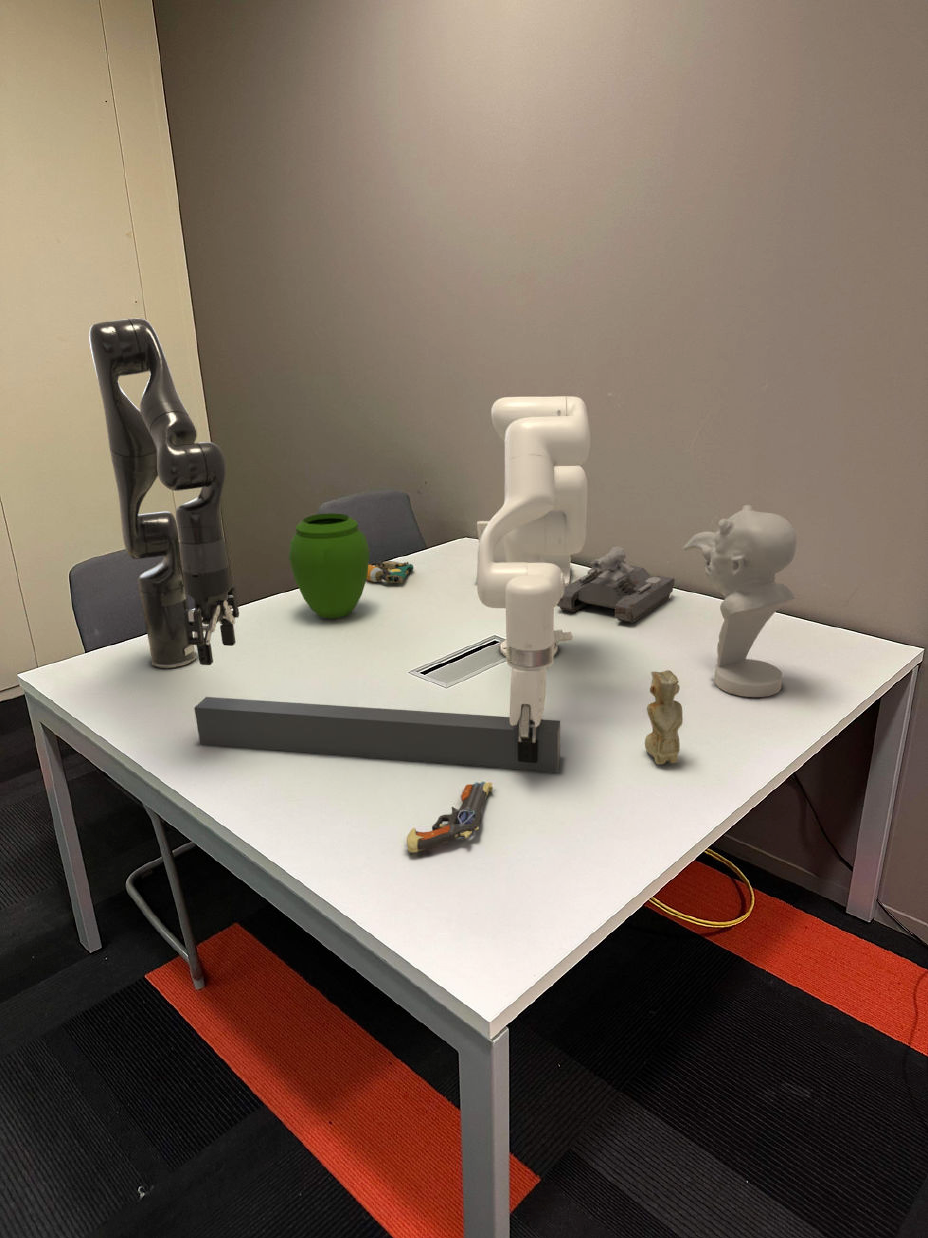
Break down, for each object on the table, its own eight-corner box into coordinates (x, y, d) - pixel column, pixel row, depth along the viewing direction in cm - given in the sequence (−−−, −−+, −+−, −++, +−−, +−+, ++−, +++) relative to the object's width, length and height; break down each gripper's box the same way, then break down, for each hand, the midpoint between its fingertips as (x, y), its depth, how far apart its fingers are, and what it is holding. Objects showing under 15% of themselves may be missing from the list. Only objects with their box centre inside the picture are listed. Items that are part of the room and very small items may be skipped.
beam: (559, 759, 144) (560, 720, 142) (557, 772, 140) (557, 732, 138) (211, 732, 157) (206, 696, 154) (199, 744, 153) (194, 707, 150)
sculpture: (673, 746, 147) (678, 666, 142) (685, 767, 140) (691, 684, 135) (639, 747, 147) (643, 667, 141) (650, 769, 140) (654, 686, 135)
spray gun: (382, 568, 251) (427, 575, 245) (352, 581, 237) (399, 589, 231) (382, 554, 250) (427, 560, 244) (351, 566, 235) (399, 574, 230)
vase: (389, 608, 216) (383, 514, 208) (339, 633, 201) (330, 533, 192) (330, 596, 226) (322, 506, 218) (278, 619, 211) (267, 523, 202)
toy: (603, 584, 229) (605, 530, 224) (673, 597, 218) (677, 540, 213) (555, 612, 210) (556, 553, 205) (630, 627, 199) (633, 566, 194)
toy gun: (402, 841, 119) (471, 840, 117) (431, 778, 137) (492, 776, 135) (405, 858, 120) (474, 857, 118) (434, 793, 138) (494, 791, 136)
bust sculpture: (716, 647, 187) (729, 489, 174) (804, 687, 167) (826, 512, 154) (658, 663, 180) (668, 499, 167) (743, 707, 160) (761, 525, 147)
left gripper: (205, 552, 149) (217, 638, 155) (162, 577, 136) (177, 669, 142) (244, 553, 148) (255, 640, 154) (206, 578, 135) (219, 672, 141)
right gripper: (514, 632, 144) (514, 728, 151) (498, 673, 129) (499, 778, 135) (558, 634, 143) (557, 731, 149) (547, 676, 128) (546, 782, 134)
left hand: (218, 654), depth 148 cm, fingers open, 8 cm apart
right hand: (529, 752), depth 142 cm, fingers closed on beam, 4 cm apart
